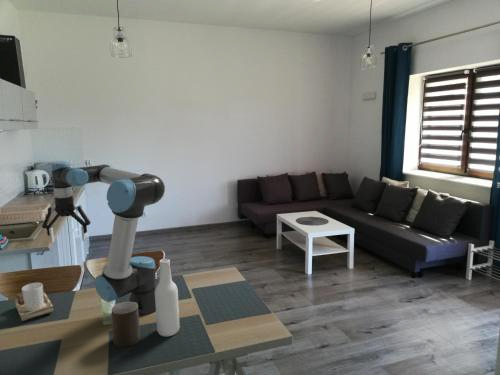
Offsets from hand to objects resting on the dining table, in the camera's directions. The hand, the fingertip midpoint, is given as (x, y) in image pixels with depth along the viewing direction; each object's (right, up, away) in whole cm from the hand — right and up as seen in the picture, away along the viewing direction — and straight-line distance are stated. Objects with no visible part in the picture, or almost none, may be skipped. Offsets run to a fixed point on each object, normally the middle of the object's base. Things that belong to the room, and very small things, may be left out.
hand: (68, 240), depth 169 cm
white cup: (-10, -28, -9) cm, 31 cm away
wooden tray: (-12, -30, -6) cm, 33 cm away
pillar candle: (+37, -34, -29) cm, 58 cm away
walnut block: (-18, -27, -4) cm, 33 cm away
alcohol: (+52, -33, -23) cm, 66 cm away
